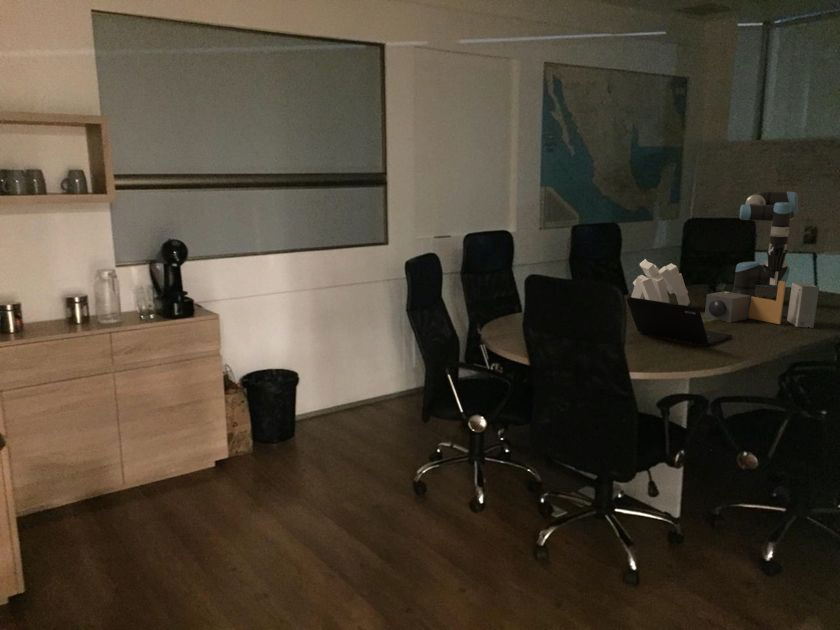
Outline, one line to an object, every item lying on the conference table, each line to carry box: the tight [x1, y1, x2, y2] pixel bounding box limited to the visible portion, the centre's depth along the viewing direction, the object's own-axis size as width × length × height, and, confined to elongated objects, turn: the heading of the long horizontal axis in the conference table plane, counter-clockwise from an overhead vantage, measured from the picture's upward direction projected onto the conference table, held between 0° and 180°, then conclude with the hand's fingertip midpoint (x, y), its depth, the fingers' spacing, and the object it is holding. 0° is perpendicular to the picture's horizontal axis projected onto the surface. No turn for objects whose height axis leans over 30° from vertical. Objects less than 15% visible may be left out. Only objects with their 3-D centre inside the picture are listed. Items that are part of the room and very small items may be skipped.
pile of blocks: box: [630, 258, 691, 306], centre depth 359 cm, size 35×30×35 cm
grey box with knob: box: [704, 290, 750, 323], centre depth 339 cm, size 18×14×13 cm
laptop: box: [626, 296, 733, 347], centre depth 297 cm, size 33×38×19 cm
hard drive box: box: [786, 281, 820, 329], centre depth 326 cm, size 16×8×20 cm, turn 168°
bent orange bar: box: [748, 281, 787, 325], centre depth 330 cm, size 16×1×21 cm, turn 32°
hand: (773, 284), depth 320 cm, fingers closed
